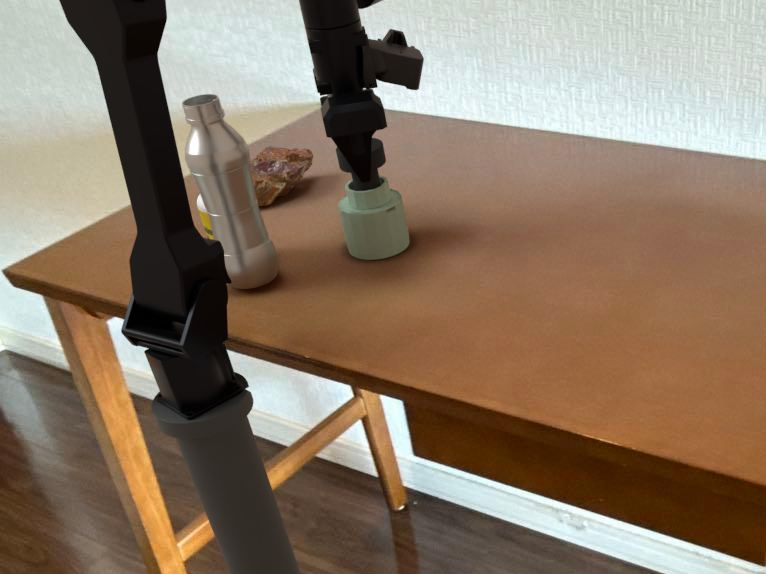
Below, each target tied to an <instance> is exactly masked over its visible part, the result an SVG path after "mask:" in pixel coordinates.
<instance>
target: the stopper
mask: <svg viewBox="0 0 766 574" xmlns="http://www.w3.org/2000/svg"><path fill="white" fill-rule="evenodd" d="M384 147H385V146H384V142H383V141H382V140H381V139H379V138H375V137H372V151H371V181H370V182H365V183H362V182H361V181H360V180H359V178H358V177H357V175H356V174H355V172H354V171H353V169H352V168H351V166H350V165H349V163H348V162H347V160H346V159H345V157H344V156H343V154H342V153H341V151H340V150H339V149H338V147H337V146H336V148H335V153H336V158H337V161H338V167H339V169H340V171H342V172H344V173H348V174H350V175H351V180H353V184H354V189H355V191H367V190H371V189H375V188H377V187H379V186H381V183H380V178H379V175H380V174H379V169H380V168H381V167H383V166H384V165H385V164H386V163H387V159H386V152H385V148H384Z"/></svg>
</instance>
